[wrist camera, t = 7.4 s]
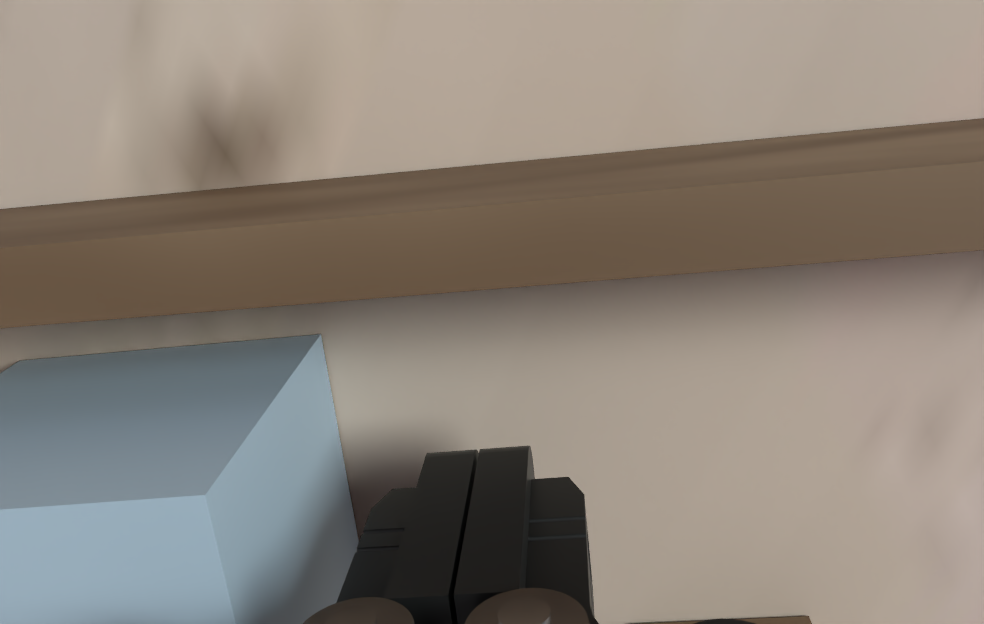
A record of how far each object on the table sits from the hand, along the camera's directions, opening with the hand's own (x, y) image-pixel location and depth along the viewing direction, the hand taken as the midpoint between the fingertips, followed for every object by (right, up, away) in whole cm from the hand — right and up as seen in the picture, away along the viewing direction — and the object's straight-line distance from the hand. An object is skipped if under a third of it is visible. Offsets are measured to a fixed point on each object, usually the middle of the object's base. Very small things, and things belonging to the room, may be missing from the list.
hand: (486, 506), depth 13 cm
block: (-5, 0, +2) cm, 5 cm away
